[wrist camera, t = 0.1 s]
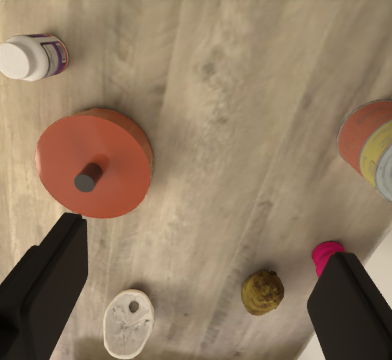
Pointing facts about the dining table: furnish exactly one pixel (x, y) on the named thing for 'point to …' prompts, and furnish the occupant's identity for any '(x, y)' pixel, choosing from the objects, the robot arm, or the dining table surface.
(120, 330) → the skull bowl
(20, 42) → the pill bottle
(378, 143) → the canned food
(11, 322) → the robot arm
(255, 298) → the potato
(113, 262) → the dining table surface
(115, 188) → the lid
